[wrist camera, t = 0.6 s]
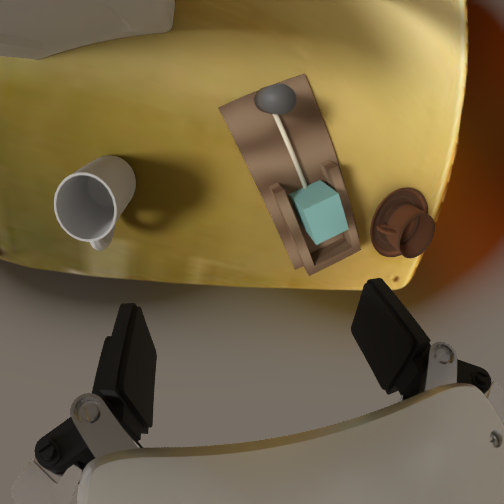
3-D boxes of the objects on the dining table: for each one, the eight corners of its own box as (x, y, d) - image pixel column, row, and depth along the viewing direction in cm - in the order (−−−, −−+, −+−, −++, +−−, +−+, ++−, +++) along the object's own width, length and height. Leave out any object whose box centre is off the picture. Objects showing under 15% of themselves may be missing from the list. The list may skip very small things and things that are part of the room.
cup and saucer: (367, 260, 43) (385, 282, 38) (361, 195, 37) (385, 211, 31) (420, 238, 43) (440, 255, 38) (421, 176, 37) (446, 189, 31)
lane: (218, 107, 28) (219, 107, 25) (303, 74, 27) (313, 71, 24) (294, 268, 41) (301, 281, 38) (357, 236, 40) (368, 247, 37)
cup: (135, 152, 29) (113, 169, 21) (140, 227, 34) (125, 264, 26) (83, 157, 28) (49, 176, 20) (92, 229, 32) (67, 265, 25)
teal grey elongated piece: (244, 95, 27) (252, 93, 22) (280, 81, 27) (294, 77, 22) (301, 225, 37) (316, 245, 32) (330, 211, 36) (348, 229, 32)
